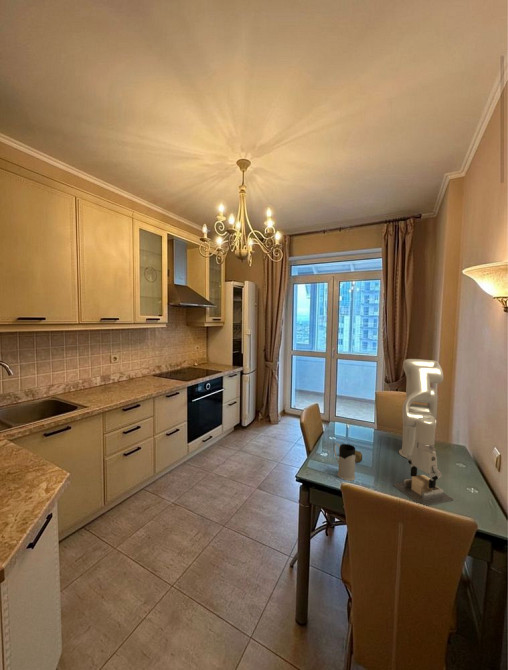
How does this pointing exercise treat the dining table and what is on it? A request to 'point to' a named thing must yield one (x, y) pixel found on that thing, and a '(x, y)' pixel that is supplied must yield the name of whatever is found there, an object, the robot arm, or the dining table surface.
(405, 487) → the cradle
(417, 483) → the oak lock block
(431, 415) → the robot arm
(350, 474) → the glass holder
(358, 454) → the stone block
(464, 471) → the dining table surface
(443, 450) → the dining table surface
